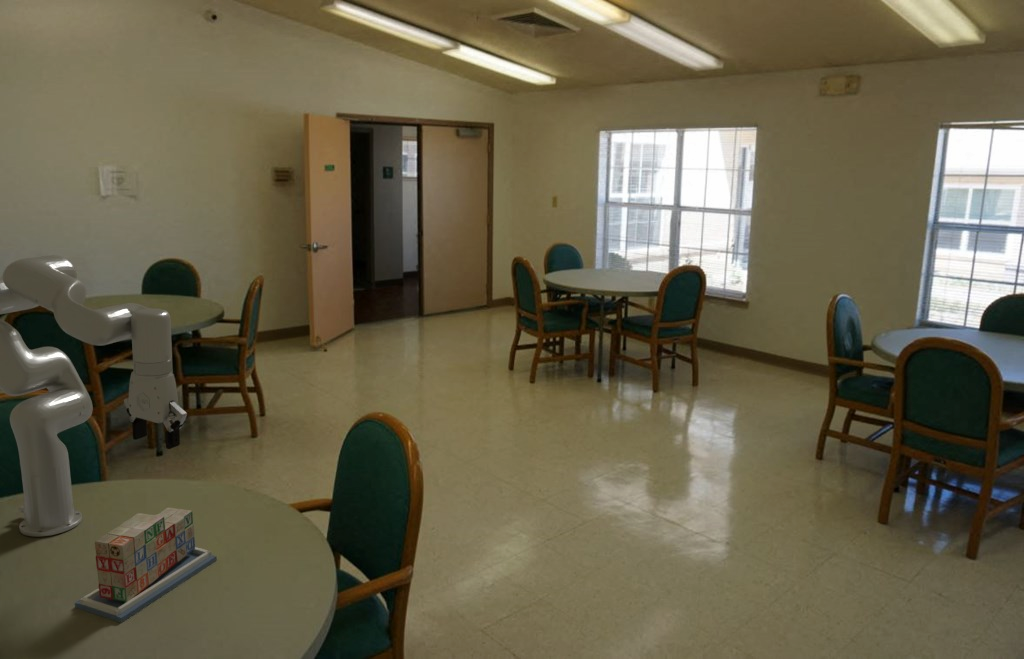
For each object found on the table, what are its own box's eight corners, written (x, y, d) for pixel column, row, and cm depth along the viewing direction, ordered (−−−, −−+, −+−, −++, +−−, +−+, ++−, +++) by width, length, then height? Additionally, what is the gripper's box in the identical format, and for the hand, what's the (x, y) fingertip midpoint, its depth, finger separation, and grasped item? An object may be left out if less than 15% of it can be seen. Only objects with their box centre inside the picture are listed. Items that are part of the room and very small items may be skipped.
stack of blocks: (170, 545, 165) (167, 493, 162) (195, 549, 164) (192, 497, 161) (98, 597, 145) (93, 540, 142) (126, 603, 143) (122, 544, 141)
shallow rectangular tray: (75, 607, 145) (74, 598, 144) (174, 548, 167) (173, 540, 167) (121, 622, 140) (120, 613, 140) (216, 560, 163) (216, 552, 163)
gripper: (108, 364, 158) (112, 439, 161) (168, 378, 151) (171, 456, 155) (138, 356, 164) (142, 429, 168) (197, 369, 158) (199, 445, 162)
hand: (156, 442), depth 162 cm, fingers open, 9 cm apart
